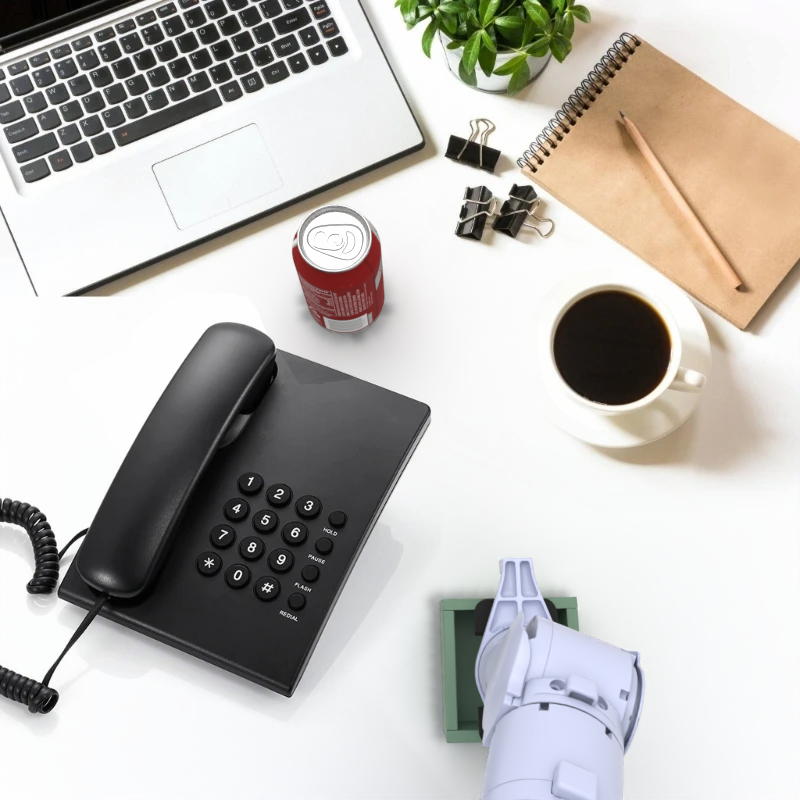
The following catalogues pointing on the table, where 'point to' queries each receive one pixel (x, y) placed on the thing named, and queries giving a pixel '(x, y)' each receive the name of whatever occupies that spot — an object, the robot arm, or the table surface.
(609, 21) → the table surface
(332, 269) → the soda can
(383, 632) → the table surface
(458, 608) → the bin
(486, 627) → the robot arm
